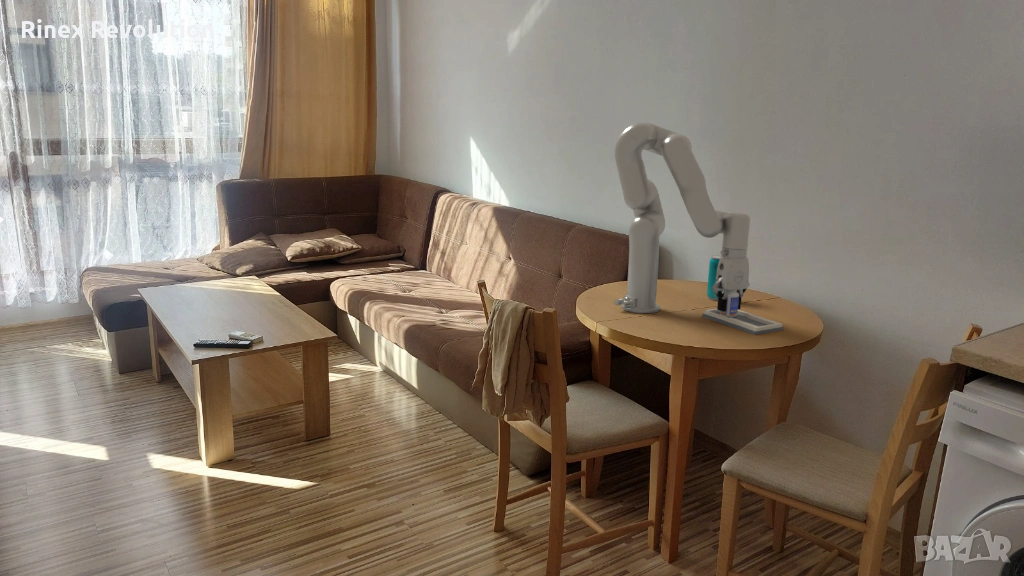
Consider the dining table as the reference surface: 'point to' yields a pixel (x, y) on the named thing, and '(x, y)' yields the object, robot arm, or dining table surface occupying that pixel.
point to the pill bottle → (731, 304)
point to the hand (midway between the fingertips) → (728, 308)
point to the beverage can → (712, 277)
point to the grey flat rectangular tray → (744, 322)
